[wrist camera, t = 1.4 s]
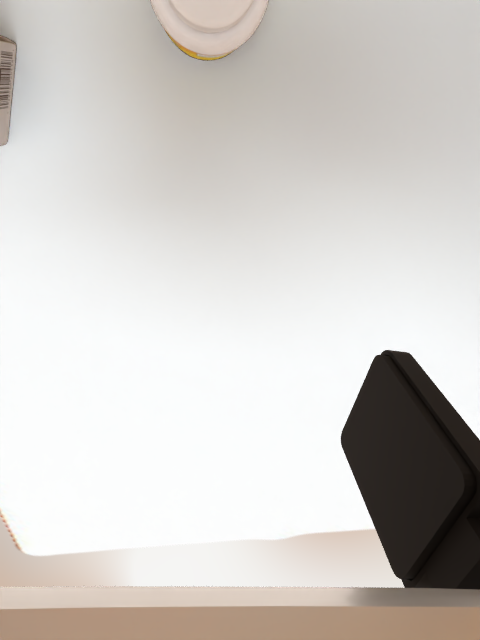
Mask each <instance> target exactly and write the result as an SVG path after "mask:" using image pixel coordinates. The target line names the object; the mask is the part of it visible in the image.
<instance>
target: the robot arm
mask: <svg viewBox="0 0 480 640" xmlns="http://www.w3.org/2000/svg"><path fill="white" fill-rule="evenodd" d="M341 445H342V448H343V450H344V453H345V455H346V458H347V460H348V463H349V465H350V467H351V470H352V472H353V475H354V477H355V480H356V482H357V485H358V487H359V489H360V492H361V494H362V497H363V499H364V502H365V504H366V507H367V509H368V511H369V514H370V516H371V519H372V521H373V524H374V526H375V529H376V531H377V533H378V536H379V538H380V541H381V543H382V546H383V548H384V550H385V553H386V555H387V558H388V560H389V563H390V565H391V568H392V570H393V572H394V574H395V575H396V576H397V577H398V578H400V579H402V582H403V584H404V586H405V588H358V587H355V588H354V587H133V586H127V587H125V586H122V587H121V586H119V587H116V586H114V587H113V586H112V587H111V586H110V587H109V586H103V587H102V586H100V587H98V586H97V587H96V586H91V587H90V586H87V587H0V640H480V440H479V439H478V438H477V436H476V435H475V434H474V433H473V431H472V430H471V429H470V428H469V426H468V425H467V424H466V423H465V421H464V420H463V419H462V418H461V416H460V415H459V414H458V413H457V411H456V410H455V409H454V408H453V406H452V405H451V404H450V403H449V401H448V400H447V399H446V398H445V396H444V395H443V394H442V393H441V391H440V390H439V389H438V388H437V386H436V385H435V384H434V383H433V381H432V380H431V379H430V378H429V376H428V375H427V374H426V373H425V371H424V370H423V369H422V368H421V366H420V365H419V364H418V363H417V361H416V360H415V359H414V358H413V356H412V355H411V354H409V353H407V352H399V351H391V350H385V351H383V352H382V353H381V355H377V356H376V357H375V358H374V360H373V362H372V364H371V366H370V369H369V371H368V373H367V376H366V378H365V380H364V383H363V385H362V387H361V389H360V392H359V394H358V396H357V399H356V401H355V403H354V405H353V408H352V410H351V412H350V415H349V417H348V419H347V421H346V424H345V426H344V428H343V431H342V434H341Z"/></svg>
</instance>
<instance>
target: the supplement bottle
mask: <svg viewBox="0 0 480 640" xmlns="http://www.w3.org/2000/svg"><path fill="white" fill-rule="evenodd" d="M150 1H151V4H152V7H153V9H154V12H155V14H156V16H157V18H158V20H159V22H160V23H161V25H162V26H163V28H164V29H165V31H166V33H167V34H168V36H169V37H170V39H171V40H172V41H173V43H174V44H175V45H176V46H177V47H178V48H179V49H180V50H181V51H183V52H184V53H185V54H187V55H189V56H191V57H193V58H196V59H200V60H207V61H208V60H216V59H220V58H223V57H225V56H227V55H228V54H230V53H231V52H233V51H234V50H236V49H237V48H238V47H240V46H241V45H242V44H243V43H245V42H246V41H247V40H248V39H249V38H250V37H251V36H252V34H253V33H254V32H255V30H256V29H257V27H258V26H259V24H260V22H261V20H262V18H263V16H264V14H265V11H266V8H267V5H268V1H269V0H150Z"/></svg>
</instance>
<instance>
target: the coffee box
mask: <svg viewBox="0 0 480 640" xmlns="http://www.w3.org/2000/svg"><path fill="white" fill-rule="evenodd" d="M15 57H16V44H15V42H13V41H12V40H10V39H8V38H6V37H4V36H1V35H0V146H2V145H5V144H7V141H8V134H9V123H10V112H11V101H12V91H13V81H14V69H15Z"/></svg>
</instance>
